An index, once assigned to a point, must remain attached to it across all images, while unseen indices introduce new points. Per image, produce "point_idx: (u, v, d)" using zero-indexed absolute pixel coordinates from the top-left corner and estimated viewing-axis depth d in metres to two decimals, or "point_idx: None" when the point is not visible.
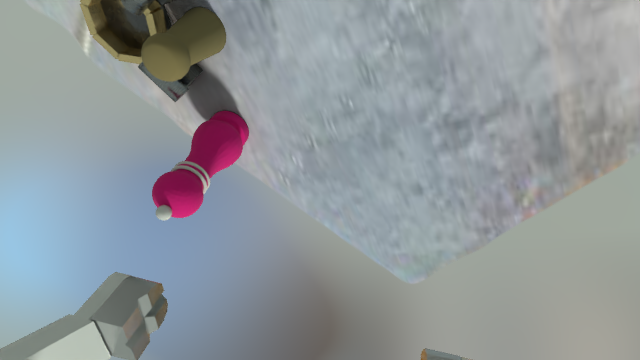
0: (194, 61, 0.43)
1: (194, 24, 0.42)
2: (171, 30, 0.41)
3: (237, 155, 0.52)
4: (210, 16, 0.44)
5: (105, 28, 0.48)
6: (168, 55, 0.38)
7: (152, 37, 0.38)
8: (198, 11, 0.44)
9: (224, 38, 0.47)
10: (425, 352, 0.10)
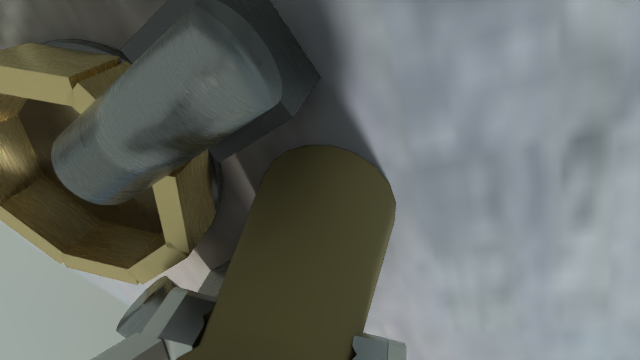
0: None
1: (341, 236, 0.11)
2: (264, 294, 0.09)
3: None
4: (369, 181, 0.13)
5: (33, 180, 0.17)
6: None
7: None
8: (332, 167, 0.13)
9: None
10: None
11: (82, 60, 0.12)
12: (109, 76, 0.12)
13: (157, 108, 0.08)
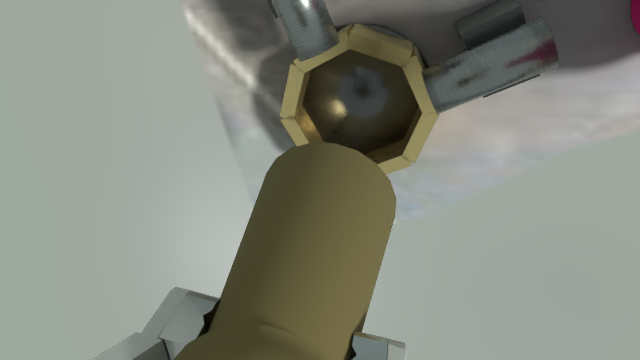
0: None
1: (344, 229, 0.11)
2: (270, 283, 0.10)
3: None
4: (370, 177, 0.14)
5: None
6: None
7: None
8: (335, 163, 0.13)
9: None
10: None
11: None
12: None
13: None
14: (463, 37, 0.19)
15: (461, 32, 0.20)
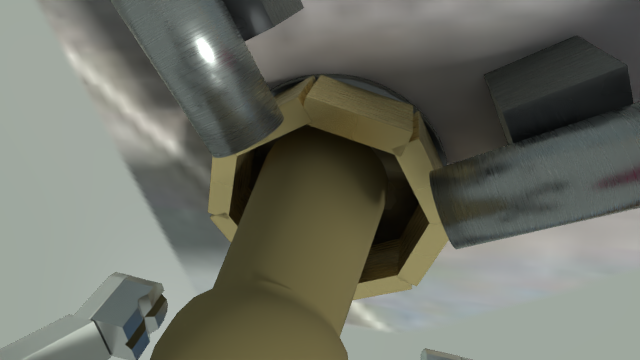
0: None
1: (337, 202, 0.12)
2: (269, 246, 0.10)
3: None
4: (364, 158, 0.15)
5: None
6: None
7: (207, 348, 0.08)
8: (330, 144, 0.14)
9: None
10: (425, 352, 0.10)
11: None
12: None
13: (134, 10, 0.09)
14: (507, 117, 0.11)
15: (503, 107, 0.11)
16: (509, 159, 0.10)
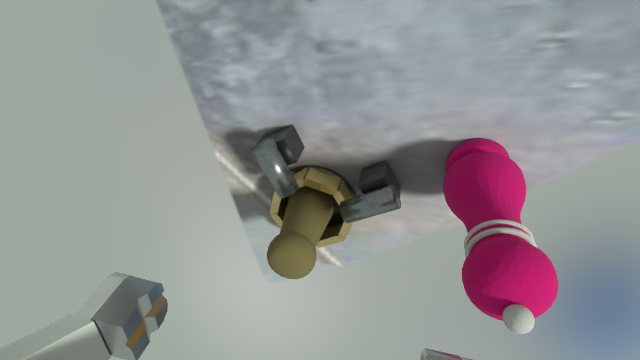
0: None
1: (314, 210, 0.40)
2: (295, 223, 0.39)
3: (511, 167, 0.32)
4: (325, 194, 0.43)
5: None
6: (301, 262, 0.36)
7: (284, 243, 0.36)
8: (313, 190, 0.42)
9: (333, 211, 0.45)
10: (425, 352, 0.10)
11: None
12: None
13: (264, 165, 0.37)
14: (360, 187, 0.39)
15: (359, 184, 0.39)
16: (357, 199, 0.38)
